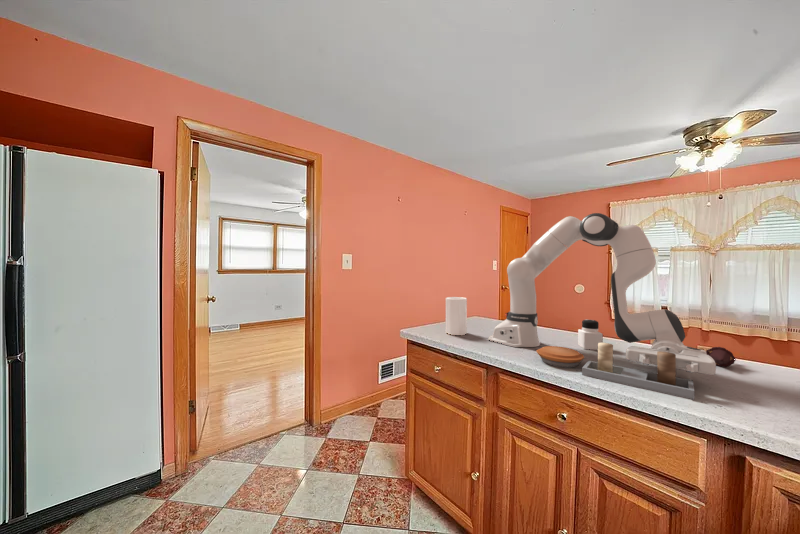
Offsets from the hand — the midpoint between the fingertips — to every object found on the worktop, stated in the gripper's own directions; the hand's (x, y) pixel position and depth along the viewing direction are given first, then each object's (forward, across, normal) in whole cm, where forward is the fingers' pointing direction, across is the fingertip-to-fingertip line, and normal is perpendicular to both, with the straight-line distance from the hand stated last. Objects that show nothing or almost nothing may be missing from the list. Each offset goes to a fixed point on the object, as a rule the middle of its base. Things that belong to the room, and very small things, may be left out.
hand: (667, 365), depth 86 cm
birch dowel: (-1, -15, +7) cm, 16 cm away
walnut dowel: (-1, 0, +7) cm, 7 cm away
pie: (-5, -30, +7) cm, 31 cm away
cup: (-19, -82, +7) cm, 85 cm away
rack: (-1, -8, +7) cm, 10 cm away
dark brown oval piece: (-41, +14, +7) cm, 44 cm away
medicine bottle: (-36, -26, +7) cm, 45 cm away
